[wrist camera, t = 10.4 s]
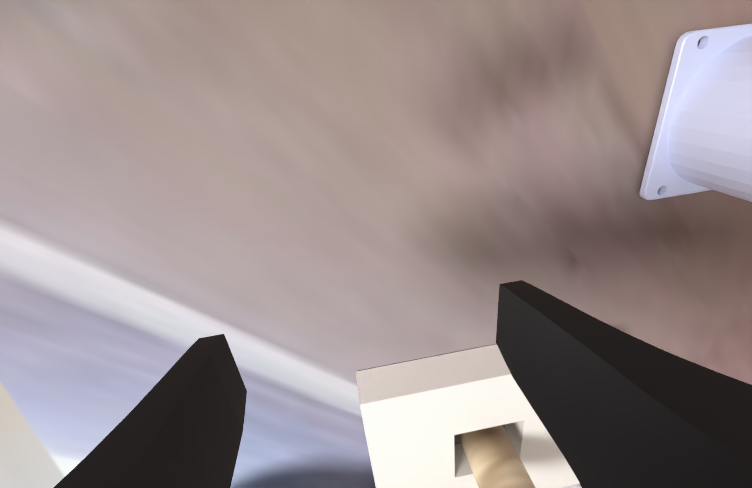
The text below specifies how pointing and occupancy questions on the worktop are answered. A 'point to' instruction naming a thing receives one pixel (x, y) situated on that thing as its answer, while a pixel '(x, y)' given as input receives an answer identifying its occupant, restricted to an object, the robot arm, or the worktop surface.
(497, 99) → the worktop surface
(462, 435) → the peg
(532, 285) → the robot arm
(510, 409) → the socket plate
